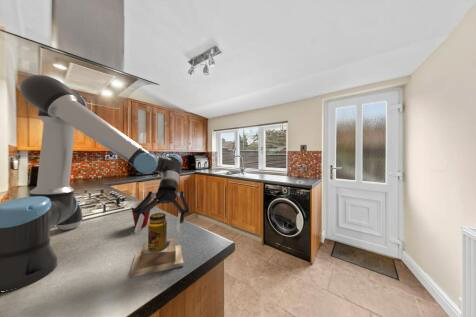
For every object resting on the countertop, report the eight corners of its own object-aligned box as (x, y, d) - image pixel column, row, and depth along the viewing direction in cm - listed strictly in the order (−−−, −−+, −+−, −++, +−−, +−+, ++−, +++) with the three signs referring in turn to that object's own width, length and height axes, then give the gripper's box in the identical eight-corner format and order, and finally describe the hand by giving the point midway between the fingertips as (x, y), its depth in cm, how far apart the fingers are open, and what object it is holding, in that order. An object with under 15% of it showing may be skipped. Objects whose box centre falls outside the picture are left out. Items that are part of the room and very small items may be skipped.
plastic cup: (136, 231, 85) (137, 207, 85) (125, 226, 91) (126, 204, 91) (156, 224, 94) (157, 203, 94) (145, 220, 100) (146, 200, 100)
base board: (129, 277, 53) (129, 261, 53) (136, 255, 65) (136, 242, 65) (183, 265, 59) (183, 251, 59) (180, 247, 71) (180, 235, 71)
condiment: (143, 254, 57) (144, 218, 57) (151, 241, 65) (152, 210, 65) (166, 252, 58) (166, 217, 58) (171, 240, 67) (172, 210, 67)
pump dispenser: (55, 227, 88) (56, 198, 88) (82, 222, 95) (83, 195, 95) (52, 234, 80) (52, 202, 80) (81, 229, 87) (82, 199, 87)
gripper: (198, 188, 79) (194, 235, 64) (141, 188, 75) (122, 238, 61) (197, 178, 74) (192, 226, 59) (136, 178, 70) (114, 229, 55)
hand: (157, 232), depth 60 cm, fingers open, 13 cm apart
